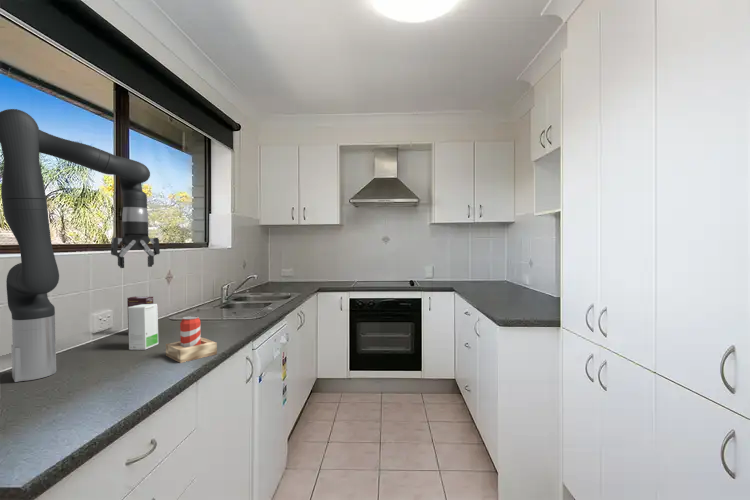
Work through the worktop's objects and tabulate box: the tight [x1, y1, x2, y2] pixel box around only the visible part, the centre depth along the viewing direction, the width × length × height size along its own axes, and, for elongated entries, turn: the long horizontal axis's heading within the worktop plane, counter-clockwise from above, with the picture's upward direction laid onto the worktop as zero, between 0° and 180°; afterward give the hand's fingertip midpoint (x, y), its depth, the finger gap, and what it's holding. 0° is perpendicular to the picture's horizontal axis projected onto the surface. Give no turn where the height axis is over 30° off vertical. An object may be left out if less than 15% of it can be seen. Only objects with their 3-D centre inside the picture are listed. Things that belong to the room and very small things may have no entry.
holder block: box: [165, 337, 218, 364], centre depth 127 cm, size 12×12×4 cm
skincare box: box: [127, 303, 159, 351], centre depth 137 cm, size 8×7×16 cm
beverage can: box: [179, 315, 202, 348], centre depth 127 cm, size 6×6×12 cm
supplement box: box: [126, 296, 154, 336], centre depth 156 cm, size 9×5×16 cm, turn 84°
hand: (136, 267), depth 129 cm, fingers open, 8 cm apart
